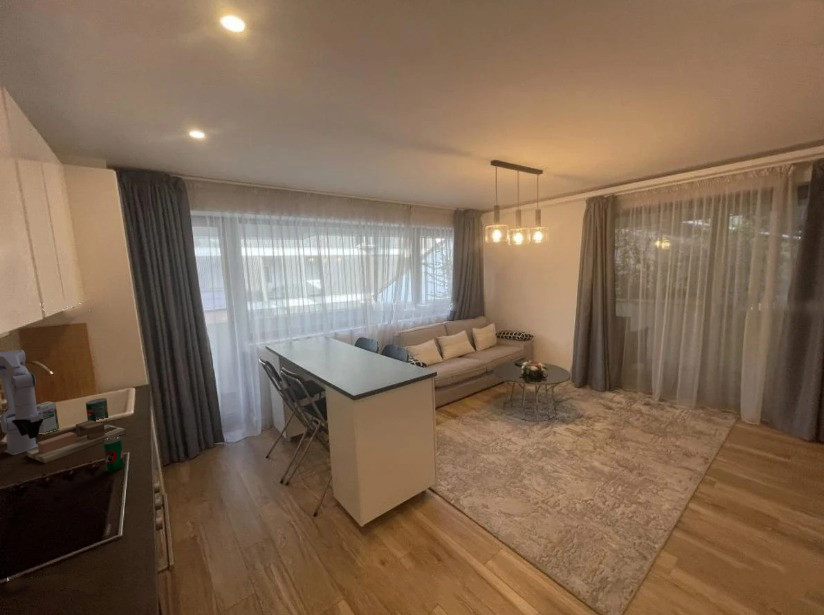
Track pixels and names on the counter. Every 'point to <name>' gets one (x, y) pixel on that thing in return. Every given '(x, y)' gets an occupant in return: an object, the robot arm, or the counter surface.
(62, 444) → the bar
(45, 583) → the counter surface
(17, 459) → the counter surface
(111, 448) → the soda can
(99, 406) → the canned tomato
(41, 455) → the pit track
